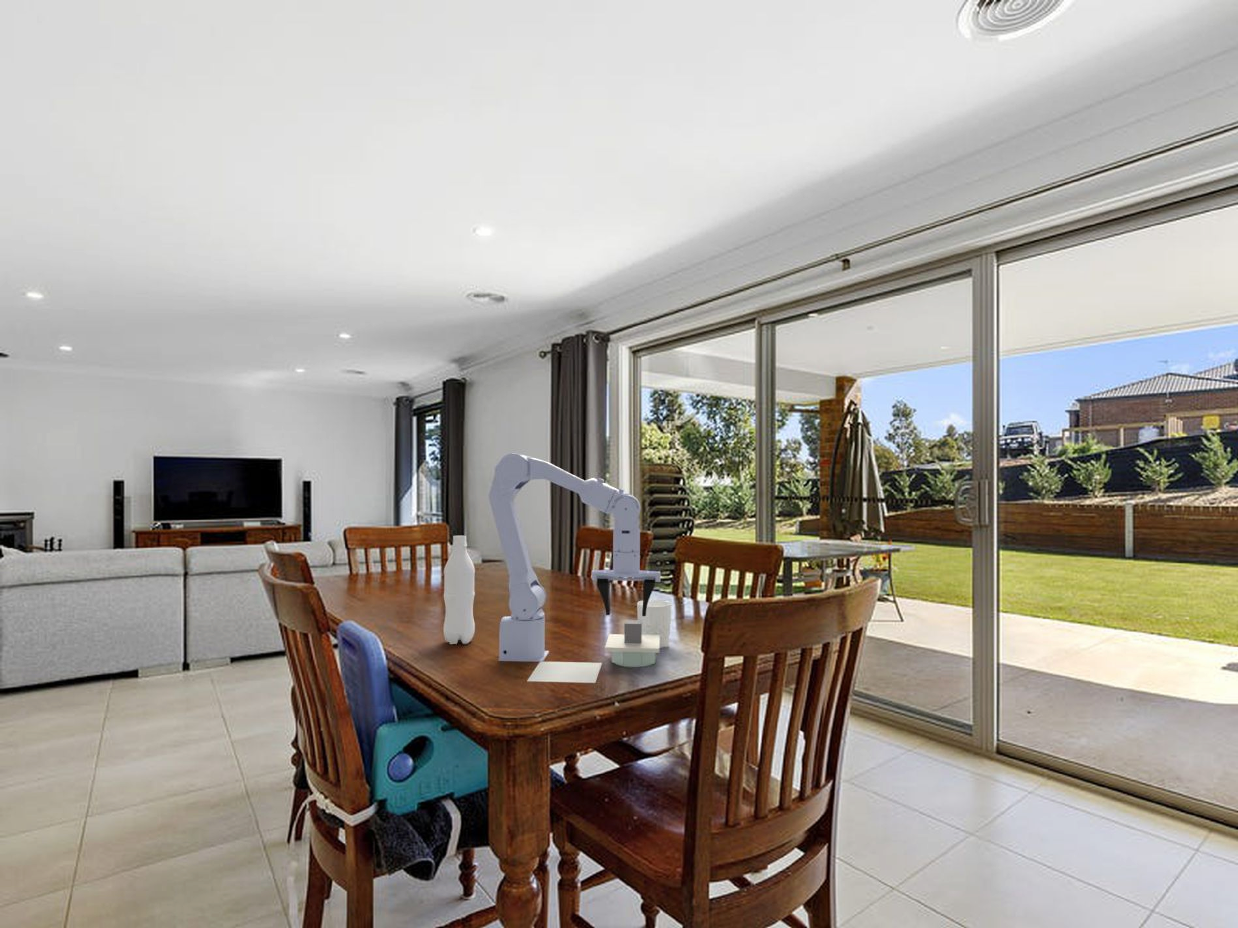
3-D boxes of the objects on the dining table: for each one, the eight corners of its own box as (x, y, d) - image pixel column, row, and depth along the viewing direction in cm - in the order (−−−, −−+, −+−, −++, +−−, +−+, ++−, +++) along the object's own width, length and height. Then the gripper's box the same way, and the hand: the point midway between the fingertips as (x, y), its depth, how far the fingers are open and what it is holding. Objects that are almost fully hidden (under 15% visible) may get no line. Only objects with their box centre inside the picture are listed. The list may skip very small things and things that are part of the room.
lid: (604, 651, 131) (604, 627, 131) (609, 637, 142) (609, 615, 142) (659, 652, 131) (659, 628, 131) (659, 638, 142) (659, 616, 142)
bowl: (610, 669, 132) (610, 649, 132) (614, 657, 141) (614, 638, 141) (654, 670, 132) (654, 650, 132) (655, 658, 141) (655, 639, 141)
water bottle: (470, 646, 150) (471, 537, 150) (439, 646, 150) (440, 537, 150) (477, 638, 157) (478, 534, 157) (448, 638, 157) (448, 534, 158)
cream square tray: (526, 683, 123) (526, 680, 123) (540, 663, 136) (540, 661, 136) (595, 685, 122) (595, 682, 122) (602, 665, 135) (602, 662, 135)
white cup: (669, 651, 145) (669, 606, 146) (634, 649, 147) (634, 605, 147) (673, 642, 153) (673, 600, 153) (640, 641, 155) (640, 599, 155)
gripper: (590, 552, 135) (589, 617, 135) (660, 553, 134) (659, 619, 134) (594, 548, 142) (593, 610, 142) (660, 549, 141) (660, 612, 141)
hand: (626, 614), depth 139 cm, fingers open, 7 cm apart
